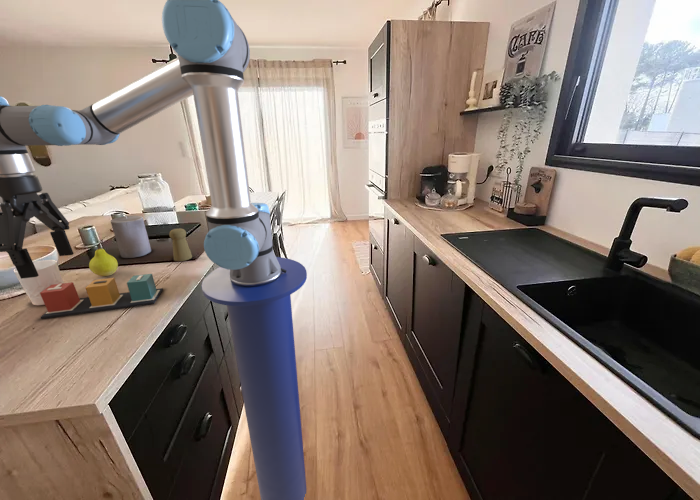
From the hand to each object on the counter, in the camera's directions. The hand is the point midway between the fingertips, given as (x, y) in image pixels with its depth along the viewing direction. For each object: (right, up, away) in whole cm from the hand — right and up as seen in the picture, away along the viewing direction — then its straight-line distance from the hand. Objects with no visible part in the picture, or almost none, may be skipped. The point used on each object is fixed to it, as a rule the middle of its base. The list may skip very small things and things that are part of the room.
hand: (50, 265), depth 69 cm
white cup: (-9, -10, +9) cm, 16 cm away
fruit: (-5, -5, +23) cm, 23 cm away
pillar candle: (-9, +2, +40) cm, 41 cm away
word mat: (+8, -10, +7) cm, 15 cm away
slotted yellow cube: (+8, -10, +7) cm, 14 cm away
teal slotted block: (+17, -9, +9) cm, 21 cm away
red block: (0, -11, +4) cm, 12 cm away
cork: (+11, +1, +36) cm, 38 cm away
